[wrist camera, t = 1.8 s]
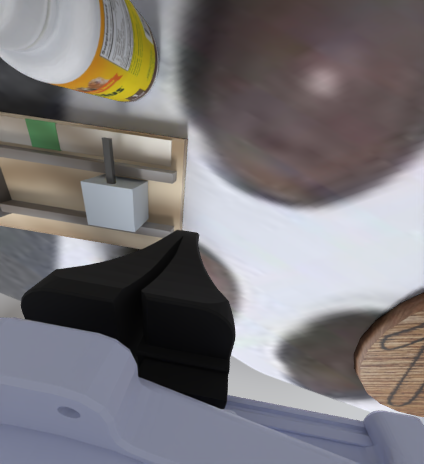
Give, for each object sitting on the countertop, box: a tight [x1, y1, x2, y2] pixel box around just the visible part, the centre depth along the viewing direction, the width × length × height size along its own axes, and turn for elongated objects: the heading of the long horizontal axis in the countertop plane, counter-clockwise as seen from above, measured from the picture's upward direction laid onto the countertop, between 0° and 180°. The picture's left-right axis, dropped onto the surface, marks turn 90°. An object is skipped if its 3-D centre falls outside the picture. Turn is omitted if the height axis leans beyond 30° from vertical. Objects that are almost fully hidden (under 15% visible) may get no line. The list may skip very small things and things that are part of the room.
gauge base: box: [0, 112, 188, 249], centre depth 17 cm, size 11×20×4 cm, turn 83°
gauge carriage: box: [80, 137, 149, 232], centre depth 16 cm, size 7×4×3 cm, turn 173°
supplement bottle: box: [0, 0, 158, 102], centre depth 10 cm, size 6×6×10 cm
